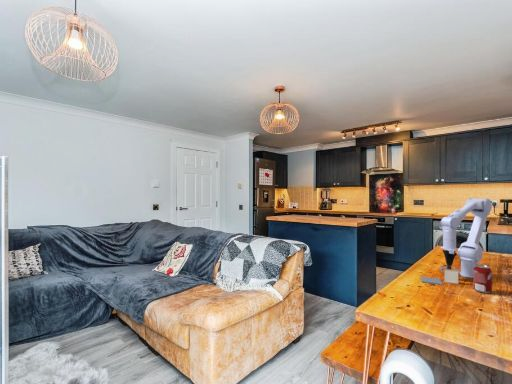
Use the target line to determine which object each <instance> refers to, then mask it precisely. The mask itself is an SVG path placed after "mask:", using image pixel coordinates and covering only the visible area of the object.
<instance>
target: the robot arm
mask: <svg viewBox="0 0 512 384" xmlns="http://www.w3.org/2000/svg"><path fill="white" fill-rule="evenodd" d="M492 203H493V202H492V201H491V199H489V198H472V197H469V198H467V200H466V201H465V204H464V205H463V206H462V207H461V208H460V209H454V211H453V212H451V213H450V214H449V215H447V216H444V217H442V218H441V220H440V225H441V230H442V246H440V249H443V250H442V252H443V255H444V258H445V263H446V266H447V265H452V266H453V264H454V259H455V258H456V256H457V255H458V257H459V259H460V260H461V262H460V271H459V275H460V276H461V277H462V278H463V277H464V278H471V279H473V276H474V267H475V265H479V262H480V261H481V260H482V258H483V252H484V249H483V247H481V246H480V245H479V244H480V241H481V237H482V234H483V231H484V228H485V224H486V223H487V218H488V216H489V215H490V213H491V211H492V208H493V204H492ZM469 213H471V214H472V215H474V219H473V221H472V224H471V227H470V231H469V234H468V235H467V236H468V237H467V240H466V241H464V242H462V243H461V244H460V246H459V248H458V249H457V228H459V226H460V223H461V222H462V221H463V220H465V219H466V218H467V214H469ZM456 251H457V252H456Z"/></svg>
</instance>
